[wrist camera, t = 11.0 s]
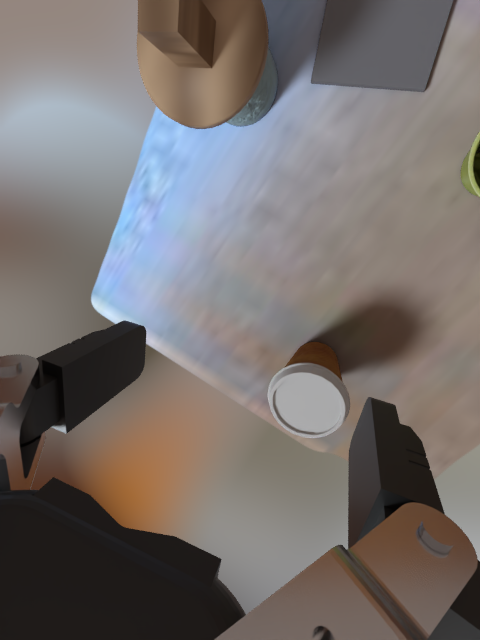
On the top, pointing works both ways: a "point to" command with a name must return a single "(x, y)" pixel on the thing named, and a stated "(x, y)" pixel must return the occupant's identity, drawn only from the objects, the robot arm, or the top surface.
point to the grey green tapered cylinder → (259, 96)
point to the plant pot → (472, 168)
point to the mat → (380, 43)
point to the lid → (201, 57)
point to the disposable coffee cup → (310, 393)
